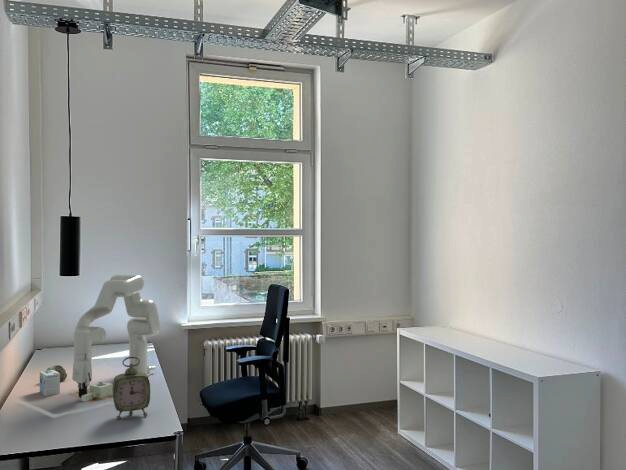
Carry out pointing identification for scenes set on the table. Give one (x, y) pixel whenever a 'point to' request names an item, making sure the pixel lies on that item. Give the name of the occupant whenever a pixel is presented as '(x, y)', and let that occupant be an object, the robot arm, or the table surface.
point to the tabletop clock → (131, 390)
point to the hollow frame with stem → (98, 391)
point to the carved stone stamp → (59, 371)
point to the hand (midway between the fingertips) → (82, 396)
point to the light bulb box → (49, 382)
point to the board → (92, 399)
